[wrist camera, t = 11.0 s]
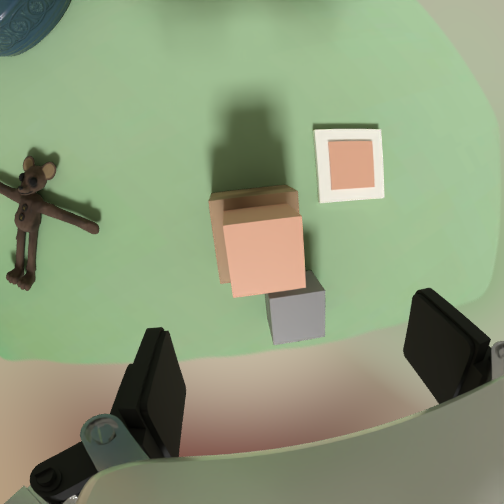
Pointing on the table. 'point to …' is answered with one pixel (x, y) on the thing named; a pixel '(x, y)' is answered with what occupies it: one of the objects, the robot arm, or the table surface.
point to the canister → (27, 23)
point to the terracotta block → (264, 249)
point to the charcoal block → (297, 312)
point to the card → (348, 164)
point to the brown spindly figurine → (35, 217)
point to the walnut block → (239, 201)
